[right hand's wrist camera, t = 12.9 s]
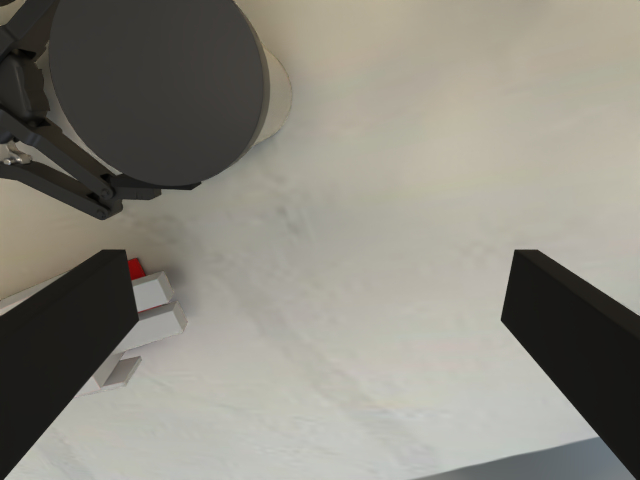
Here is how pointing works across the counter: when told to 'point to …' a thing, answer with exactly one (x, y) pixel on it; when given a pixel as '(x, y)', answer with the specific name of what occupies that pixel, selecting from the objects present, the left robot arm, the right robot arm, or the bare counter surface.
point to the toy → (148, 329)
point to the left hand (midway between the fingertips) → (189, 96)
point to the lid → (160, 84)
